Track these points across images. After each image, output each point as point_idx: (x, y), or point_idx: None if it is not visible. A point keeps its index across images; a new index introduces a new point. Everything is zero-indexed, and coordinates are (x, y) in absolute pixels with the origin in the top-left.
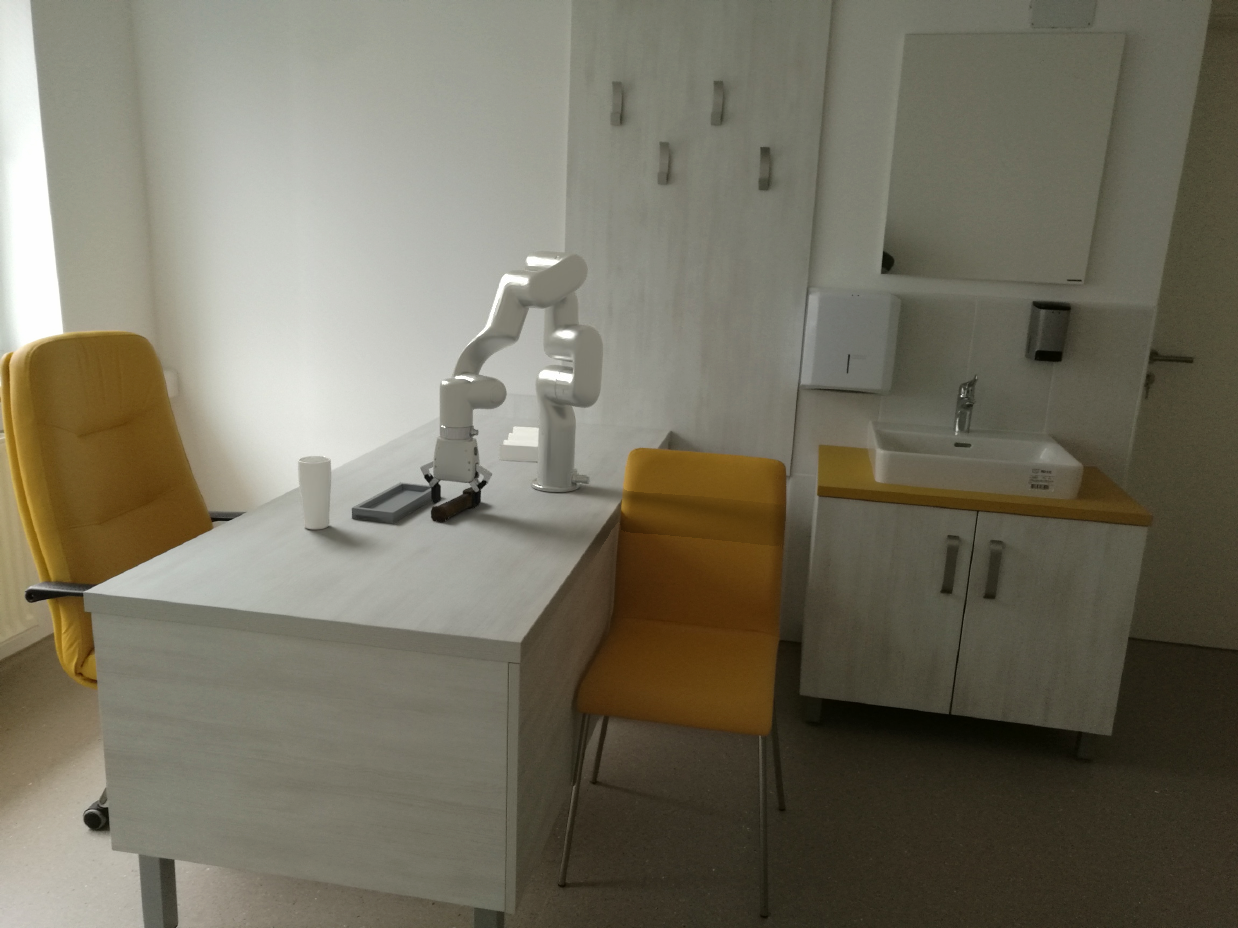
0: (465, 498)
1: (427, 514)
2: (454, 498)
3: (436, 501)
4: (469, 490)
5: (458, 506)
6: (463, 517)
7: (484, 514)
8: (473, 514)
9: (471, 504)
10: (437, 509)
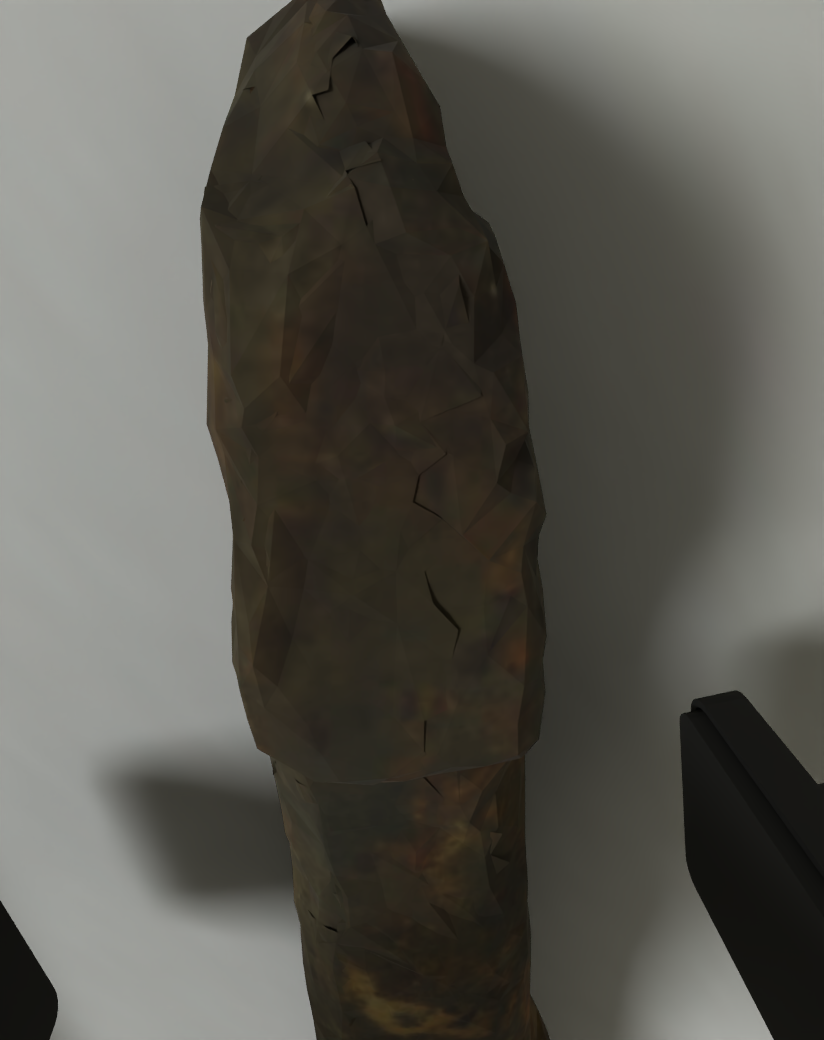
0: (518, 874)
1: (141, 1024)
2: (359, 1013)
3: (38, 1009)
4: (446, 699)
5: (548, 1035)
6: (598, 896)
7: (803, 673)
8: (657, 750)
9: (715, 923)
10: None
